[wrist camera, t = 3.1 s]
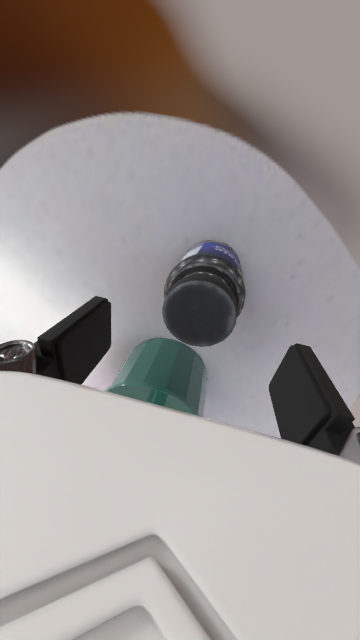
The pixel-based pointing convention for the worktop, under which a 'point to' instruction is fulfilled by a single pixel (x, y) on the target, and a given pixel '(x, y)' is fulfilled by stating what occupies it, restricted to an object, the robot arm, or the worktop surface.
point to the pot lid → (152, 395)
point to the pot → (168, 370)
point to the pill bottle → (204, 294)
